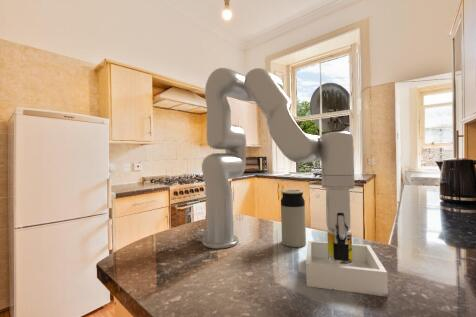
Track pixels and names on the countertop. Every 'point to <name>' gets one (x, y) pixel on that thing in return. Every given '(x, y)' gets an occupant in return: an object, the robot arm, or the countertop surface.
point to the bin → (346, 270)
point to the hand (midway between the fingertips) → (339, 254)
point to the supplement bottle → (331, 250)
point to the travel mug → (293, 218)
